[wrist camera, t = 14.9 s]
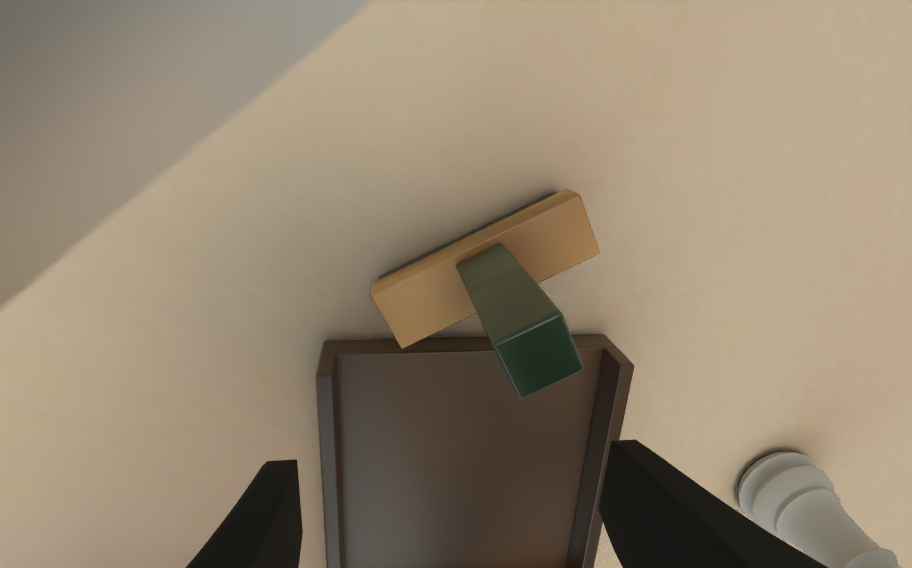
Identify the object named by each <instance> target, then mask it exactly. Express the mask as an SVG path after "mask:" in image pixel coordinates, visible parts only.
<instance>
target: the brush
mask: <svg viewBox="0 0 912 568" xmlns="http://www.w3.org/2000/svg"><path fill="white" fill-rule="evenodd" d="M599 253H600V251H599V248H598V245H597V242H596V239H595V237H594V234H593V231H592V228H591V225H590V222H589V219H588V217H587V214H586V211H585V208H584V205H583V202H582V199H581V197H580V195H579V194H578V193H576V192H574V191H571V190H569V189H565V190H563V191H561V192H559V193H557V192H552V193H550V194H548V195H546V196H544V197H542V198H540V199H538V200H536V201H534V202H532V203H530V204H528V205H526V206H524V207H522V208H520V209H518V210H515V211H513V212H511V213H509V214H507V215H505V216H503V217H501V218H499V219H497V220H495V221H493V222H491V223H489V224H487V225H485V226H483V227H481V228H479V229H477V230H474V231H472V232H470V233H468V234H466V235H464V236H462V237H460V238H458V239H456V240H454V241H452V242H450V243H448V244H446V245H444V246H442V247H440V248H438V249H436V250H434V251H431V252H429V253H427V254H425V255H423V256H421V257H419V258H417V259H415V260H413V261H411V262H409V263H407V264H405V265H403V266H401V267H399V268H397V269H395V270H393V271H390V272H388V273H386V274H384V275H382V276H380V277H379V281H377V282H374V283H372V284H371V298H372V299H373V301H374V303H375V304H376V306H377V308H378V310H379V311H380V313H381V315H382V316H383V318H384V320H385V321H386V323H387V325H388V327H389V328H390V330H391V332H392V333H393V335H394V337H395V339H396V340H397V342H398V344H399V345H400V347H401V348H405V347H407V346H409V345H411V344H413V343H415V342H417V341H419V340H422V339H424V338H426V337H428V336H430V335H432V334H434V333H436V332H438V331H440V330H442V329H444V328H446V327H448V326H450V325H453V324H455V323H457V322H459V321H461V320H463V319H465V318H467V317H469V316H471V315H473V314H475V313H477V314H478V316H479V318H480V320H481V323H482V325H483V327H484V329H485V331H486V334H487V336H488V338H489V340H490V342H491V344H492V347H493V349H494V351H495V353H496V355H497V357H498V359H499V361H500V363H501V365H502V367H503V369H504V371H505V373H506V375H507V377H508V379H509V381H510V383H511V385H512V387H513V389H514V391H515V393H516V395H517V397H518V398H519V399H524V398H526V397H528V396H530V395H532V394H534V393H536V392H539V391H541V390H543V389H545V388H547V387H549V386H551V385H553V384H555V383H557V382H559V381H562V380H564V379H566V378H568V377H570V376H572V375H574V374H576V373H578V372H580V371H582V370H583V369H584V367H583V363H582V361H581V358H580V356H579V353H578V351H577V348H576V346H575V344H574V341H573V339H572V336H571V334H570V331H569V329H568V326H567V324H566V321H565V319H564V317H563V314H562V312H561V311H560V310H559V309H558V308H557V307H556V305H555V304H554V303H553V302H552V301H551V300H550V298H549V297H548V296H547V295H546V294H545V293H544V291H543V290H542V289H541V288H540V287H539V286H538V284H537V283H539V282H541V281H544V280H546V279H548V278H550V277H552V276H554V275H556V274H558V273H560V272H562V271H564V270H566V269H568V268H570V267H572V266H575V265H577V264H579V263H581V262H583V261H585V260H587V259H589V258H591V257H593V256H595V255H597V254H599Z"/></svg>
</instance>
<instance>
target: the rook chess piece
mask: <svg viewBox="0 0 912 568" xmlns="http://www.w3.org/2000/svg"><path fill="white" fill-rule="evenodd" d="M738 493H739V501H740V507H741V509H742V510H743V511H744V512H745V513H746V514H747V515H748V516H749V517H753V520H754V522H755V523H756V524H757V525H759V526H760V527H762V528H763V529H765V530H766V531H768V532H769V533H771V534H772V535H776V536H779V537H780V538H781V539H782V540H783V541H786V542H789V543H792V544H794V545H795V546H797V547H798V548H800V549H801V550H802V551H804V552H805V553H806V554H807V555H808V556H809V557H811V558H813V559H815V560H816V561H818V562H820V563H822V564H823V565H825V566H827V567H829V568H901V567H900V566H899V565H898V563H897V558H896V556H895V555H894V553H893V552H892V551H890V550H887V549H884V548H881V547H879V546H878V545H877V544H876V543H875V542H874V541H873V540H872V539H870V538H869V537H868V536H867V535H866V534H865V533H864V532H863V531H862V530H861V528H860V527H859V526H858V525H857V524H856V523H855V522H854V521H853V520H852V518H851V517H850V516H849V515H848V514H847V513H846V512H845V510H844V509H843V507H842V506H841V502H840V498H839V497H838V496H837V494H836V493H835V492H834V485H833V484H832V482H831V481H830V479H829V478H828V477H827V475H826V474H825V473H824V472H823V470H821V469H818V468H816V465H815V464H814V463H813V462H812V460H811V459H810V458H809V457H808V456H805V455H802V454H799V453H794V452H776V453H772V454H770V455H767V456H765V457H762V458H760V459H759V460H758V461H757V462H755V463H754V464H753V465H751V466H750V467H749V468H748V470H747V471H746V472H745V474H744V475H743V476H742V478H741V481H740V484H739V488H738Z"/></svg>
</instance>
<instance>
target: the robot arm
mask: <svg viewBox="0 0 912 568" xmlns="http://www.w3.org/2000/svg"><path fill="white" fill-rule="evenodd" d="M598 509H599V512H600V515H601V517H602V520H603V523H604V525H605V528H606V531H607V533H608V536H609V538H610V541H611V543H612V546H613V548H614V551H615V553H616V555H617V557H618V559H619V561H620V563H621V565H622V567H623V568H829V567H827V566H825V565H823V564H822V563H820V562H818V561H816V560H815V559H813V558H811V557H809V556H808V555H806V554H804V553H802V552H801V551H799V550H797V549H795V548H794V547H792V546H790V545H789V544H787V543H785V542H784V541H782V540H780V539H779V538H777V537H776V536H774V535H772V534H771V533H769V532H768V531H766V530H765V529H763V528H762V527H760V526H759V525H757V524H755V523H754V522H752V521H751V520H749V519H748V518H746V517H745V516H743V515H742V514H740V513H739V512H737V511H736V510H734V509H733V508H731V507H730V506H728V505H727V504H725V503H724V502H723V501H721V500H720V499H718V498H717V497H715V496H714V495H713V494H711V493H710V492H708V491H707V490H705V489H704V488H703V487H701V486H700V485H698V484H697V483H696V482H694V481H693V480H692V479H690V478H689V477H687V476H686V475H685V474H683V473H682V472H681V471H679V470H678V469H676V468H675V467H674V466H672V465H671V464H670V463H668V462H667V461H665V460H664V459H663V458H661V457H660V456H658V455H657V454H656V453H654V452H653V451H651V450H650V449H649V448H647V447H646V446H644V445H643V444H641V443H640V442H638V441H637V440H620V441H611V445H610V450H609V455H608V460H607V466H606V471H605V476H604V481H603V486H602V491H601V496H600V501H599V507H598ZM302 533H303V531H302V518H301V506H300V493H299V480H298V467H297V460H281V461H267V462H266V463H265V464H264V465H263V466H262V467H261V469H260V470H259V472H258V473H257V475H256V476H255V478H254V479H253V481H252V482H251V483H250V485H249V486H248V488H247V489H246V491H245V492H244V493H243V495H242V496H241V498H240V499H239V500H238V502H237V503H236V505H235V506H234V507H233V509H232V510H231V511H230V513H229V514H228V515H227V517H226V518H225V519H224V521H223V522H222V523H221V524H220V526H219V527H218V528H217V530H216V531H215V532H214V534H213V535H212V536H211V537H210V539H209V540H208V541H207V543H206V544H205V545H204V546H203V548H202V549H201V550H200V551H199V552H198V554H197V555H196V556H195V557H194V558H193V560H192V561H191V562H190V563H189V564H188V565H187V567H186V568H298V566H299V558H300V550H301V541H302Z"/></svg>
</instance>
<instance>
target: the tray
mask: <svg viewBox="0 0 912 568" xmlns="http://www.w3.org/2000/svg"><path fill="white" fill-rule="evenodd" d="M572 339H573V341H574V344H575V346H576V348H577V351H578V353H579V356H580V358H581V361H582V363H583V367H584V369H583V370H582V371H580V372H578V373H576V374H574V375H572V376H570V377H568V378H566V379H564V380H562V381H559V382H557V383H555V384H553V385H551V386H549V387H547V388H545V389H543V390H541V391H539V392H536V393H534V394H532V395H530V396H528V397H526V398H524V399H519V398H518V397H517V395H516V393H515V391H514V389H513V387H512V385H511V383H510V381H509V379H508V377H507V375H506V373H505V371H504V369H503V367H502V365H501V363H500V361H499V359H498V357H497V355H496V353H495V351H494V349H493V347H492V344H491V342H490V340H489V338H488V337H483V338H438V339H422V340H419V341H417V342H415V343H413V344H411V345H409V346H407V347H405V348H401V347H400V345H399V344H398V342H397V340H396V339H393V340H348V341H324V343H323V347H322V351H321V357H320V360H319V365H318V369H317V373H316V389H317V406H318V423H319V441H320V458H321V475H322V493H323V510H324V528H325V545H326V562H327V568H593V567H594V563H595V558H596V553H597V548H598V543H599V538H600V533H601V528H602V523H603V520H602V517H601V515H600V512H599V509H598V507H599V501H600V496H601V491H602V486H603V481H604V476H605V471H606V466H607V460H608V455H609V450H610V445H611V441H619V439H620V434H621V429H622V424H623V419H624V414H625V409H626V404H627V399H628V394H629V389H630V385H631V380H632V375H633V370H634V364H633V363H632V362H631V361H630V360H629V359H628V358H627V357H626V356H625V355H624V354H623V353H622V352H621V351H620V350H619V349H618V348H616V346H615V345H614V344H613V343H612V342H611V341H610V340H609V339H608V338H607V336H606V335H572Z"/></svg>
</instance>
